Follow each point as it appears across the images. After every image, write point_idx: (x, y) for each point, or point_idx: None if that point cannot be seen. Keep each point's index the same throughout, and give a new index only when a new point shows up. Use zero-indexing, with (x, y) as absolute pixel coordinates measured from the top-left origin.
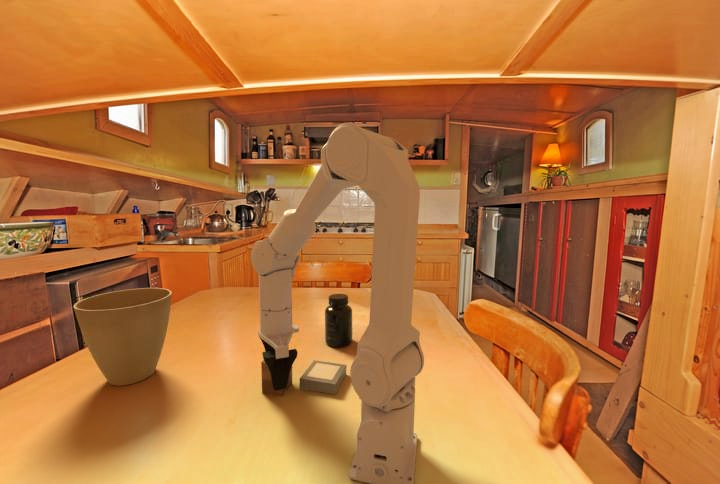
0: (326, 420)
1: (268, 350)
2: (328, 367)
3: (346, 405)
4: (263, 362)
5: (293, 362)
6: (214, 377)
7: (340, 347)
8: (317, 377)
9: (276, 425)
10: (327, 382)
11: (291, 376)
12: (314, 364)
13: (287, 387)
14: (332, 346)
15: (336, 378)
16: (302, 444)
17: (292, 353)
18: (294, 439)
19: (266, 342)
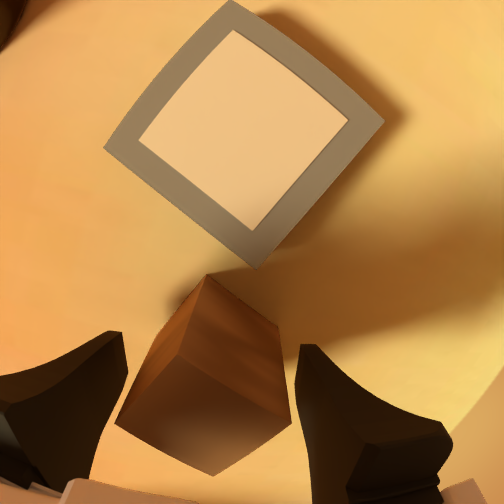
0: (465, 218)
1: (93, 430)
2: (215, 90)
3: (437, 121)
4: (220, 471)
5: (403, 410)
6: (99, 451)
7: (22, 11)
8: (292, 181)
9: (404, 357)
10: (354, 148)
11: (207, 295)
12: (146, 156)
13: (241, 306)
14: (2, 42)
15: (340, 92)
16: (490, 305)
17: (430, 461)
18: (470, 320)
19: (82, 471)
